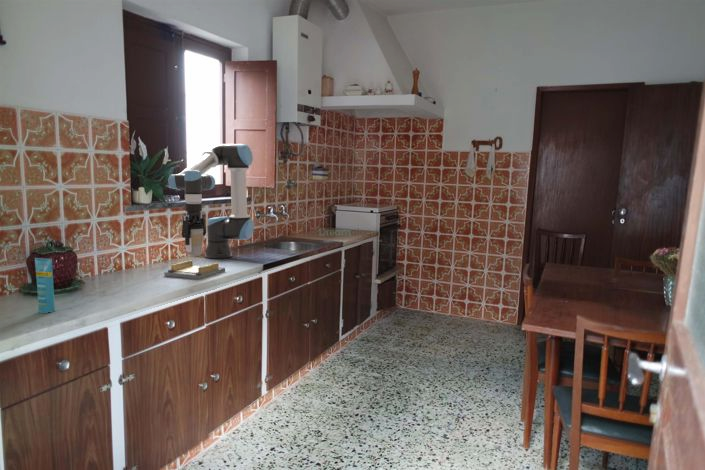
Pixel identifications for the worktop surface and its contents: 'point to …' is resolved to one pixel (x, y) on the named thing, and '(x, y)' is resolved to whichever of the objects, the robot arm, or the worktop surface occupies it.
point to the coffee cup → (196, 239)
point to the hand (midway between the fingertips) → (194, 250)
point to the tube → (45, 285)
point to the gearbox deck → (193, 270)
